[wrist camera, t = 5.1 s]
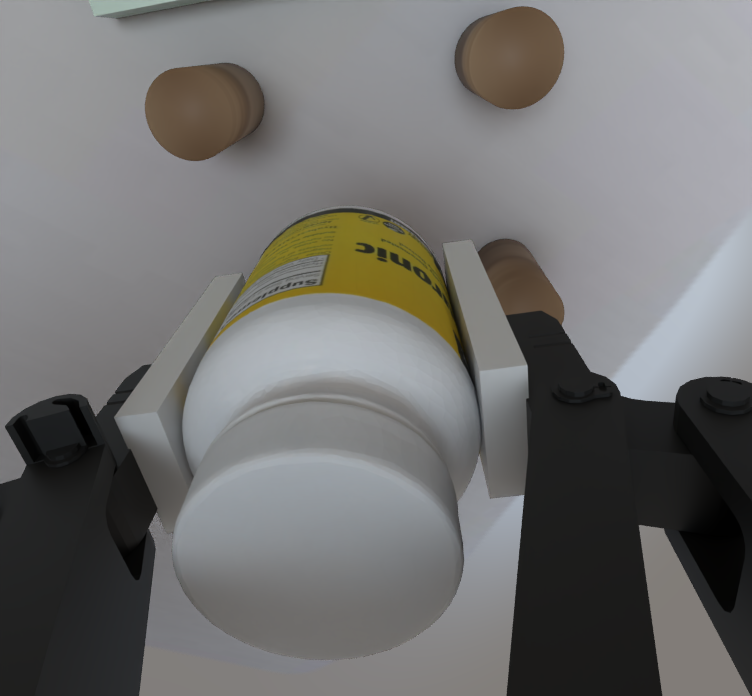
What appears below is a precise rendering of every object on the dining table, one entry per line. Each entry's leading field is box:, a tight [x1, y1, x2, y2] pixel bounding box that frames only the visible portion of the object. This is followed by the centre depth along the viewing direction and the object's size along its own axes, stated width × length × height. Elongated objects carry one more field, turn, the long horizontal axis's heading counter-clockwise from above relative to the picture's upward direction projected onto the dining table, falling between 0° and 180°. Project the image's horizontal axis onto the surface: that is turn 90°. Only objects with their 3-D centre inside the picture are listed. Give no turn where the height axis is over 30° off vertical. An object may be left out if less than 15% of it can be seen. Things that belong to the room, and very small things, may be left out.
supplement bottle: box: [172, 206, 481, 660], centre depth 12 cm, size 5×5×10 cm
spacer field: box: [145, 7, 564, 325], centre depth 26 cm, size 15×15×6 cm
